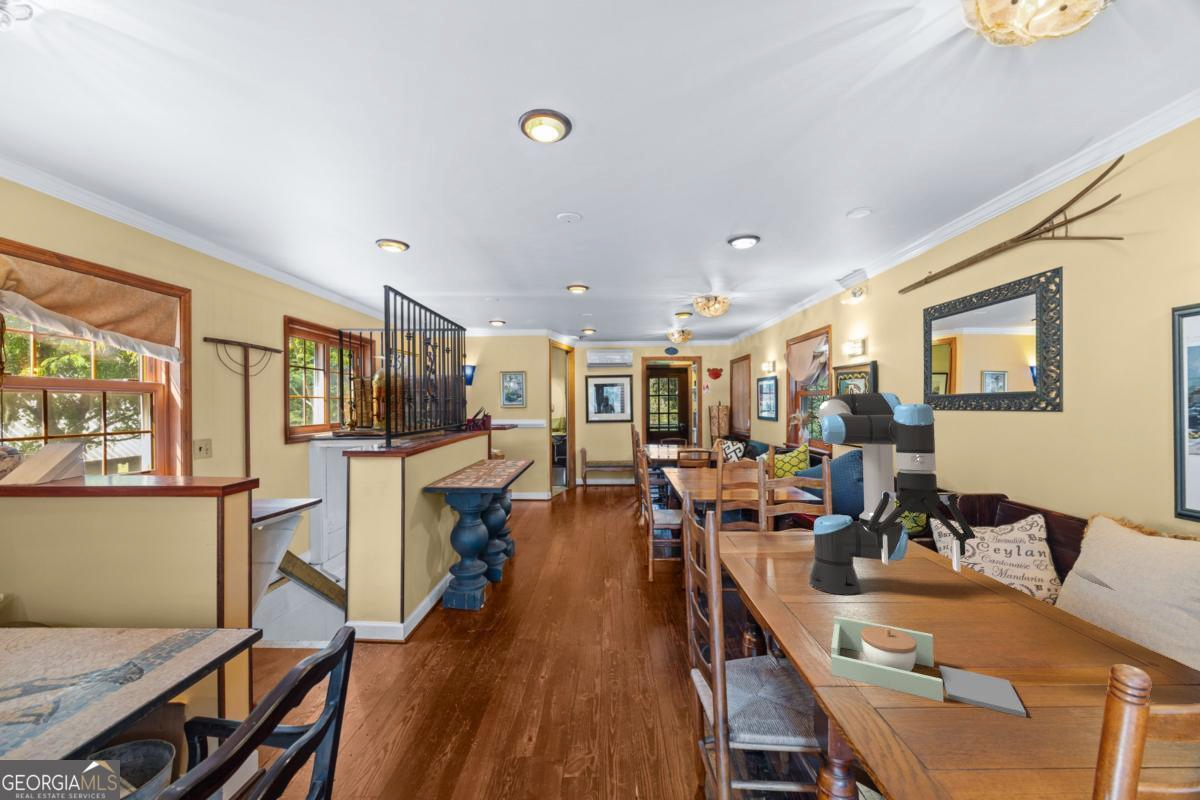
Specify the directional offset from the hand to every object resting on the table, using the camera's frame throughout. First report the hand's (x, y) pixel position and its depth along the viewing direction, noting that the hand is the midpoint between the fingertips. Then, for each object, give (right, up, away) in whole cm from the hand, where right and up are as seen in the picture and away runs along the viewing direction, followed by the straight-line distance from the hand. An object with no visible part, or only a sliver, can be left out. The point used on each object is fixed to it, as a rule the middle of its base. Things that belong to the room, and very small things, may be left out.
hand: (920, 566), depth 103 cm
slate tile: (+7, -23, -8) cm, 26 cm away
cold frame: (-8, -24, +1) cm, 25 cm away
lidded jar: (-7, -24, 0) cm, 25 cm away
